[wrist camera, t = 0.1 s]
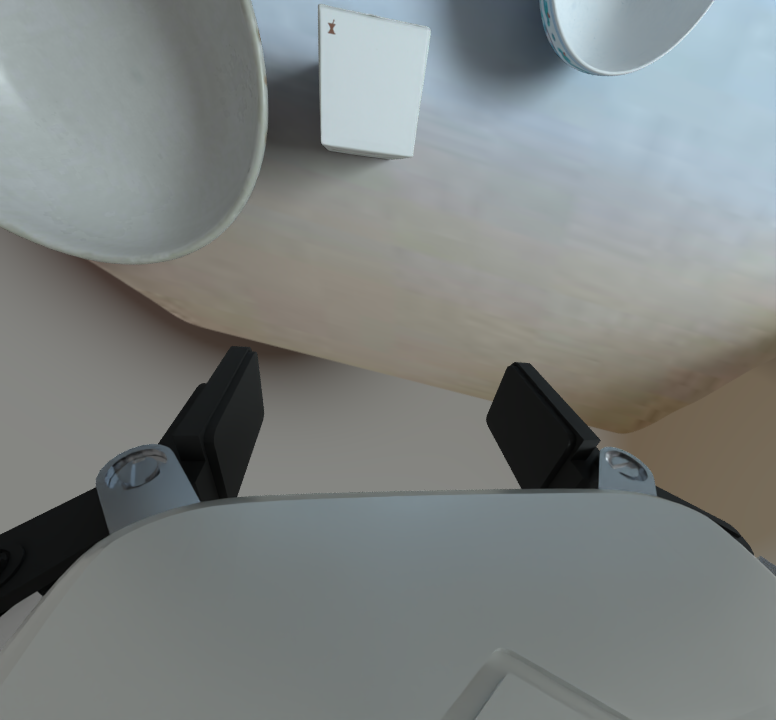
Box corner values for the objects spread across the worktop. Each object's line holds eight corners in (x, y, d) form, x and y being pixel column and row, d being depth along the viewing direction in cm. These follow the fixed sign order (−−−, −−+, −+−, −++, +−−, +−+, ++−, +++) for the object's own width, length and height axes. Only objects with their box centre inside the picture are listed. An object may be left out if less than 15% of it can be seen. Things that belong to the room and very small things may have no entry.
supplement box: (327, 152, 32) (316, 145, 22) (328, 58, 28) (315, -5, 18) (393, 162, 34) (413, 160, 23) (403, 73, 30) (433, 23, 19)
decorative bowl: (347, 125, 31) (347, 105, 21) (189, 282, 38) (132, 323, 28) (57, -323, 18) (-308, -935, 8) (-106, 39, 25) (-412, -47, 15)
